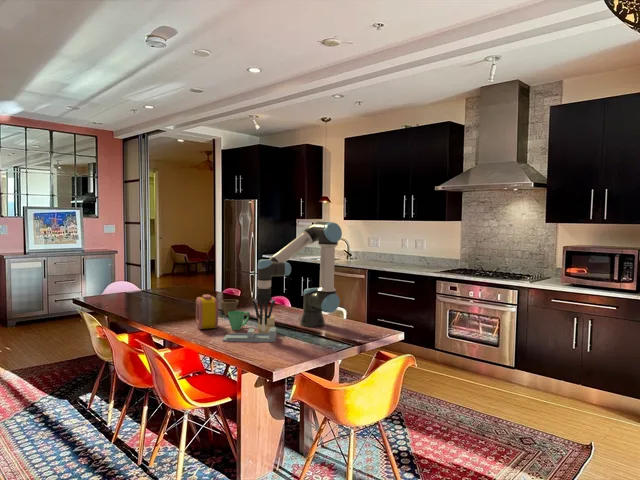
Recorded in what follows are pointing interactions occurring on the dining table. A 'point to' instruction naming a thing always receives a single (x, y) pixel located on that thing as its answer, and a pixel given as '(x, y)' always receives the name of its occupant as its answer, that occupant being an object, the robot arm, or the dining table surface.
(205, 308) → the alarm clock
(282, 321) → the dining table surface
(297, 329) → the dining table surface
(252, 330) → the slide jaw
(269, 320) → the maple block
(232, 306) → the flower pot
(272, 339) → the vise
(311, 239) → the robot arm
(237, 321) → the mug
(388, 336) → the dining table surface
